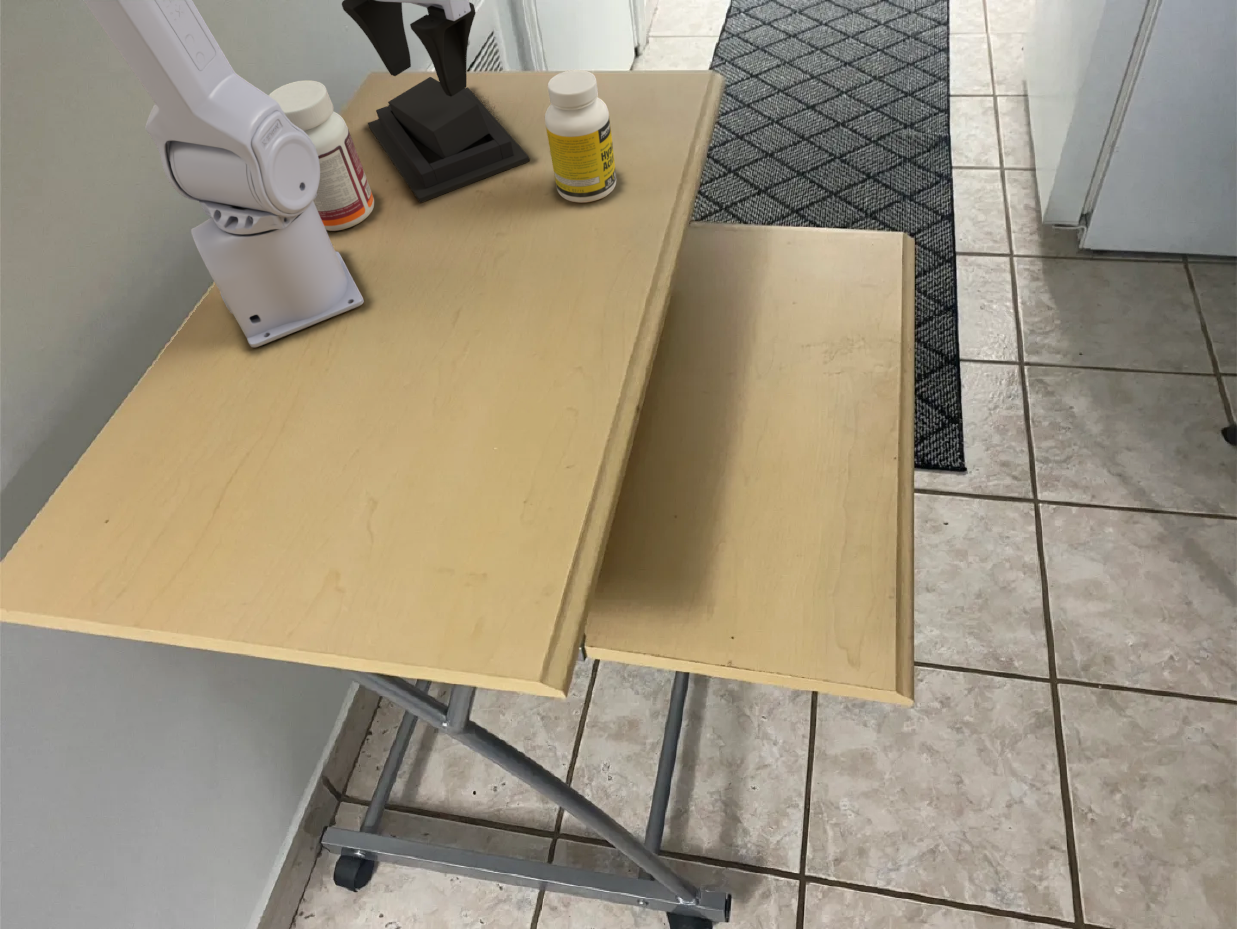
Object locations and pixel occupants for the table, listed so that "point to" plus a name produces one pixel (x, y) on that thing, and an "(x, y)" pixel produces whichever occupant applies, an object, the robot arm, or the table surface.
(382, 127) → the base pad
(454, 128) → the charcoal block
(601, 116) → the supplement bottle
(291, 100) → the pill bottle
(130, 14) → the robot arm
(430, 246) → the table surface
